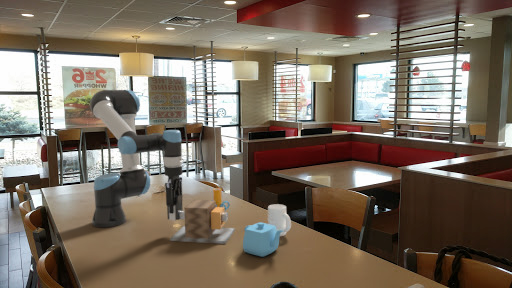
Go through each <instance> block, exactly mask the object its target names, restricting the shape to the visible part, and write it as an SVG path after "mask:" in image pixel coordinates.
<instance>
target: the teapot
mask: <svg viewBox="0 0 512 288" xmlns="http://www.w3.org/2000/svg"><path fill="white" fill-rule="evenodd" d="M282 231H284V230H278V231H277V229H276V226H274V225H270V224H268V223H266V222H265V223H264V222H261V221H260V222H257V223H253V224H252V225H251V224H249V225H246V226H245V227H244V235H243V240H242V248H243V251H244V252H245V253H247V254H250V255H254V256H258V257H261V258H263V257H266V256H268V255H270V254H272V253H273V252H275V251H277V249H278V247H279V244H280V237H281V236H280V233H281V232H282Z"/></svg>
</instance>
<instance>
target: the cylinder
mask: <svg viewBox="0 0 512 288" xmlns="http://www.w3.org/2000/svg"><path fill="white" fill-rule="evenodd" d="M212 192H213V193H212V194H213V195H212V196H213V197H212V198H213V200H210V201H215V203H216V207H225V212H227V211H226V210H227V209H229V208H230V201H227V200H224V201H223V198H222V197H223V196H222V188H219V187H216V188H213V189H212ZM226 204H227V206H226Z"/></svg>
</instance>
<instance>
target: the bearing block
mask: <svg viewBox="0 0 512 288" xmlns="http://www.w3.org/2000/svg"><path fill="white" fill-rule="evenodd" d="M183 207H184V209H183V211H184V213H185V219H184V225H183V226H182V227H181V228H180V229H178V230H177V231H176V232H175V233H174V234H173V235H172V236H171V237H170V238H169V239H170V242H171V241H173V242H174V241H175V242H185V243H187V242H189V243H206V244H207V243H208V244H220V245H221V244H223V245H226V244H227V242H228V241H229V239H230V238H231V236H232V235H233V233H234V232H235V227H234V228H233V227H222V228H221V229H211V221H210V212H211V211H212V210H213V209H214V208H215V207H216V203H215V201H211V200H206V199H205V200H203V199H193V200H192V201H190V203H188V204H187V205H186V206H183Z"/></svg>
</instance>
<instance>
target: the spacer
mask: <svg viewBox="0 0 512 288" xmlns="http://www.w3.org/2000/svg"><path fill="white" fill-rule="evenodd" d="M223 212H226V211H225V207H224V206H223V207H215V208H214V209H213V210H212V211H211V229H221V228H224V226H225V224H226V221H221V214H222V213H223Z"/></svg>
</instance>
